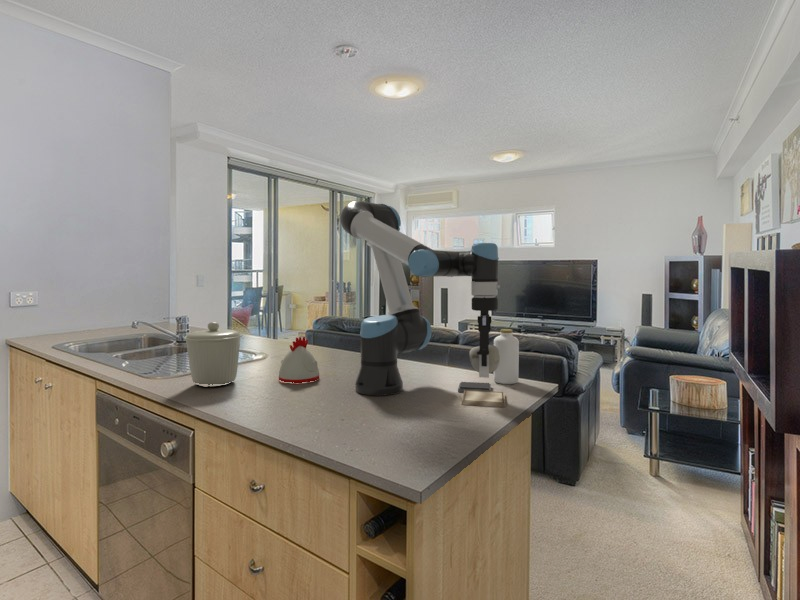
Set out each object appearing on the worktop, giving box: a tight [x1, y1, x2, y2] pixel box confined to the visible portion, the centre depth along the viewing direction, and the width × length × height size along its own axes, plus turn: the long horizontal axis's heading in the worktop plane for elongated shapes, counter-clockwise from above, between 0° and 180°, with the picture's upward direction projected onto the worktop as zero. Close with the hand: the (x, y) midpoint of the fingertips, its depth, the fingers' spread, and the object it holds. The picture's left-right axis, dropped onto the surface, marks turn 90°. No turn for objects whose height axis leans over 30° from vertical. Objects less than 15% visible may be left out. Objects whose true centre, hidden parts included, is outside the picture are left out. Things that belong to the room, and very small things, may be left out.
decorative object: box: [469, 343, 500, 374], centre depth 131 cm, size 9×9×10 cm
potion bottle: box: [492, 328, 520, 385], centre depth 152 cm, size 8×8×18 cm
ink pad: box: [457, 381, 492, 393], centre depth 143 cm, size 10×8×2 cm
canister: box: [183, 321, 243, 385], centre depth 150 cm, size 18×18×21 cm
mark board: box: [461, 390, 506, 408], centre depth 132 cm, size 12×12×1 cm
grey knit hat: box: [278, 336, 320, 383], centre depth 157 cm, size 14×14×15 cm
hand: (484, 373), depth 131 cm, fingers closed on decorative object, 9 cm apart
